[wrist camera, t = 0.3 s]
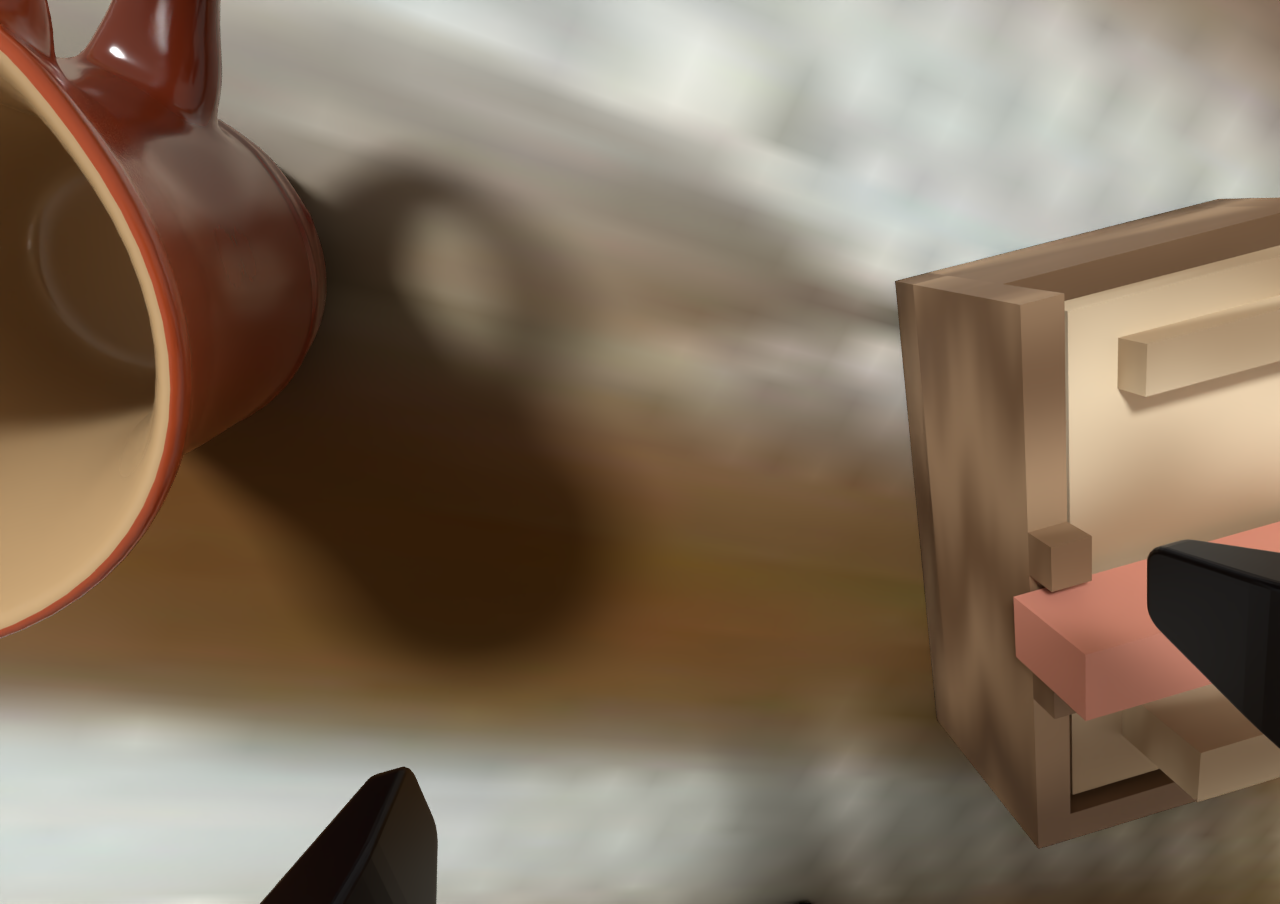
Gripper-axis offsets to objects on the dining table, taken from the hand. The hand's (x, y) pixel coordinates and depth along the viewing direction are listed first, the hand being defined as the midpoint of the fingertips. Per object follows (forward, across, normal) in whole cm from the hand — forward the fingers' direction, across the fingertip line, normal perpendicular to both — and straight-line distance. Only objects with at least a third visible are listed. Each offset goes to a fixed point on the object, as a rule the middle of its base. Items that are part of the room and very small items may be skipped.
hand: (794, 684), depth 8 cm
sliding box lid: (+8, -13, +6) cm, 16 cm away
